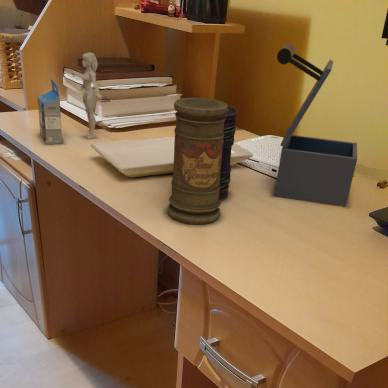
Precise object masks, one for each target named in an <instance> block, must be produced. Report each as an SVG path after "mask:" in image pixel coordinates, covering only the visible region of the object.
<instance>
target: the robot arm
mask: <svg viewBox="0 0 388 388" xmlns="http://www.w3.org/2000/svg"><path fill="white" fill-rule="evenodd" d="M385 15H386V16H385V18H384V23H383V28H382V33H381V36H380V37H381V38H380V39H386V42H385V46H388V9H387V10H386V14H385Z"/></svg>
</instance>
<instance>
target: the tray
mask: <svg viewBox="0 0 388 388" xmlns="http://www.w3.org/2000/svg"><path fill="white" fill-rule="evenodd" d="M174 142H175V135H174V136H173V135H172V136H164V137H163V136H162V137H161V136H160V137H151V138H150V137H149V138H137V139H125V140H115V141H113V140H112V141H101V142H99V141H98V142H92V143H90V144H89V145H90V147H91V148H92V149H93V150H94V151H95V153H97V154H98V155H99V156H101V157H102V158H103V159H104V160H106V161H107V162H108V163H109V164H111V165H112V166H113V167H114V168H115V169H116V170H117V171H118V172H120V173H121V174H122V175H124V176H125V177H127V178H139V177H140V178H141V177H149V176H156V175H157V176H158V175H159V176H160V175H166V174H167V175H168V174H173V167H174ZM231 150H232V151H234V152H235V153H231V159H230V165H231V167H233V166H235V164H239V163H241V162H244V161H246V160H249V159H251V158H252V157H253V156H254V153H253V152H251V151H249V150H248V149H246V148H244V147H242V146H240V145H238V144H236V143H235V142H234V143H233V145H232V149H231Z"/></svg>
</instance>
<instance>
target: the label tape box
mask: <svg viewBox="0 0 388 388" xmlns="http://www.w3.org/2000/svg"><path fill="white" fill-rule="evenodd" d="M50 84H51V90H49V91H47V92H45V93H42V94H41V95H39V96H37V110H38V111H37V112H38V124H39V135H40V136H41V137H42V139H43V141H44V142H45V143H46V144H48V145H61V144H63V132H62V117H61V116H62V113H61V99H60V98H61V96H60V91H59V86H58V83H56V81H54V80H53V79H52V78H50Z"/></svg>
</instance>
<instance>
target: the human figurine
mask: <svg viewBox="0 0 388 388" xmlns="http://www.w3.org/2000/svg"><path fill="white" fill-rule="evenodd" d="M81 58H82V59H83V60H82V61H81V63H82V67H83V68H86V69H85V71H84V73H83V74H82V75H81V80H82V85H81V86H79V88H81V89H80V91H82V92H83V94H82V103H83V104H84V107H85V115H87V116H86V117H87V121H88V122H87V123H88V134H86V135H84V138H86V139H95V138H96V137H97V135H96V133H95V128H96V125H97V120H96V117H95V115H94V114H95V113H96V109H97V103H98V100H99V102H102V100H104V98H103V96H102V95H101V93H100V89H99V86H98V84H97V83H96V81H97V80H96V79H97V75H96V74H97V73H96V72H97V69H98V65H99V64H98V59H97V57H96V54H95V53H94V52H90V51H88V52H85V53H83V54H82V57H81ZM92 82H93V87H92Z"/></svg>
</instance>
